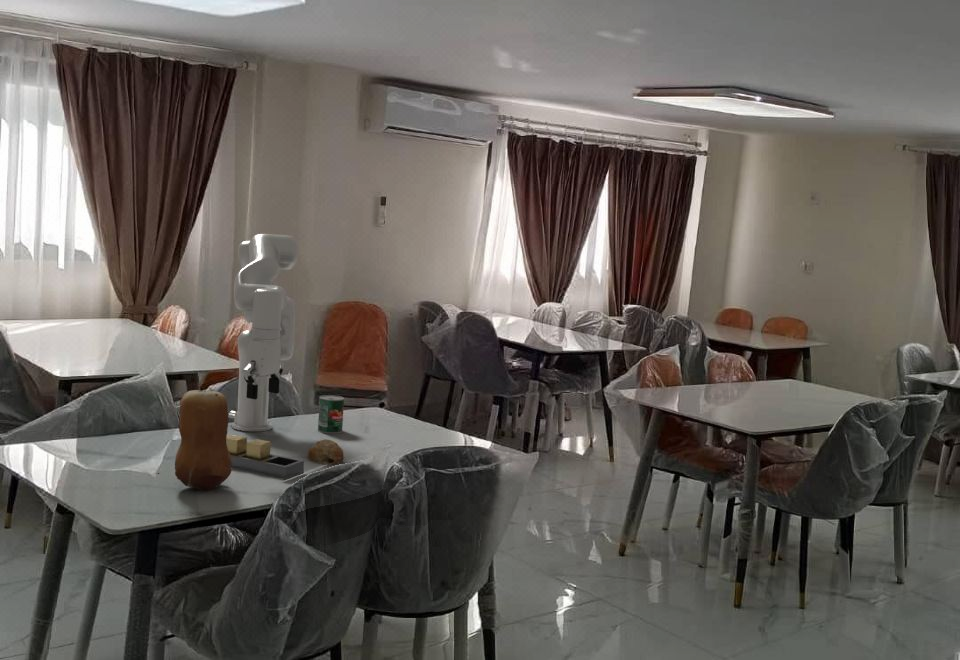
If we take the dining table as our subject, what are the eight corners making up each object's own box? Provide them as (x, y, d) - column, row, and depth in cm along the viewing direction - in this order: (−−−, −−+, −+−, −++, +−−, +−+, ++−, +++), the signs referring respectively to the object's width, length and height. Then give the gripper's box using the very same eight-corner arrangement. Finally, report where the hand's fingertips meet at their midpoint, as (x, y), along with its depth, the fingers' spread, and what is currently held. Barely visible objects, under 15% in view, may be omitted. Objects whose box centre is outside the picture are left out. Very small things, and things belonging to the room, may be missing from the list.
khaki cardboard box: (222, 462, 269) (223, 437, 268) (232, 459, 273) (233, 434, 272) (235, 465, 267) (237, 440, 266) (246, 462, 271) (247, 437, 270)
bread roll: (310, 477, 276) (316, 455, 272) (301, 453, 284) (306, 431, 280) (344, 474, 281) (349, 453, 277) (334, 451, 288) (339, 430, 285)
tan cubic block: (245, 467, 266) (247, 442, 265) (255, 463, 270) (257, 439, 269) (259, 470, 264) (260, 444, 263) (269, 466, 268) (270, 441, 267)
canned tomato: (321, 427, 321) (323, 394, 320) (345, 429, 320) (347, 396, 319) (314, 432, 314) (316, 398, 312) (338, 434, 313) (340, 400, 311)
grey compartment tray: (211, 464, 268) (212, 452, 267) (231, 458, 276) (231, 446, 275) (285, 480, 258) (285, 467, 258) (303, 473, 266) (304, 460, 266)
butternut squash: (209, 477, 256) (213, 383, 252) (241, 490, 247) (245, 392, 244) (162, 486, 245) (165, 388, 242) (193, 499, 236) (197, 398, 233)
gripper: (273, 329, 275) (270, 388, 278) (234, 335, 260) (231, 398, 262) (295, 332, 272) (292, 392, 275) (257, 339, 257) (254, 403, 259)
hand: (262, 395), depth 268 cm, fingers open, 9 cm apart
